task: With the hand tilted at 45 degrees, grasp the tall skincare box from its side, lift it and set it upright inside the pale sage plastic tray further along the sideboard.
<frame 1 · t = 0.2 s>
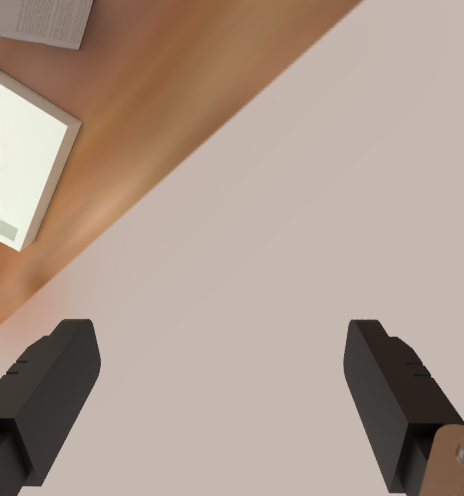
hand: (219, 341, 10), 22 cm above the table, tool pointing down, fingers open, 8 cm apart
skincare box: (54, 0, 25), on the table
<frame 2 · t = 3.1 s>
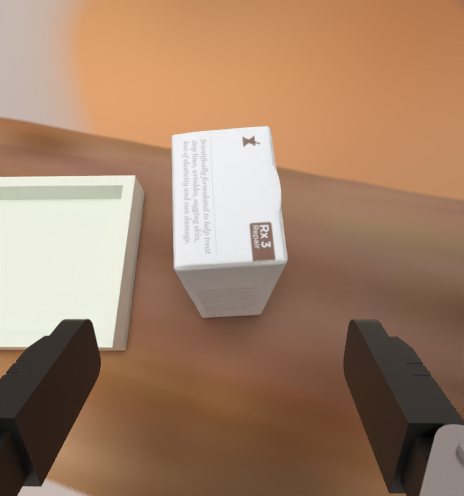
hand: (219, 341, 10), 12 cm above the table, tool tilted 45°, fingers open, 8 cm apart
skincare box: (232, 278, 24), on the table
tray: (42, 265, 24), on the table
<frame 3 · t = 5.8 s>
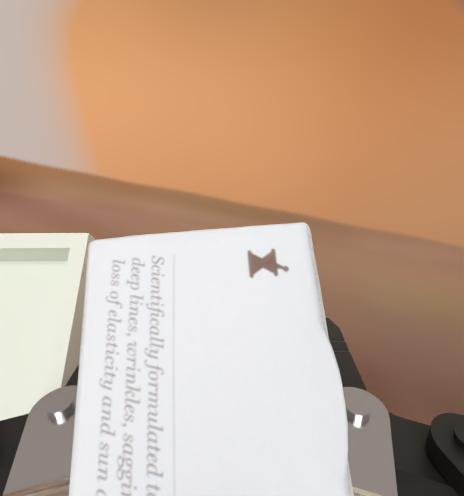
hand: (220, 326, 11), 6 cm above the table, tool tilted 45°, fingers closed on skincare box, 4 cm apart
skincare box: (228, 384, 16), on the table, touching gripper
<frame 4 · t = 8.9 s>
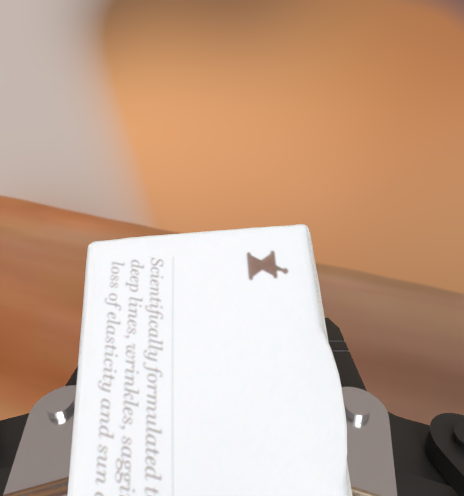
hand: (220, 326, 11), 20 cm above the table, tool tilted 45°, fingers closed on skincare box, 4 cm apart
skincare box: (228, 384, 16), point 14 cm above the table, touching gripper
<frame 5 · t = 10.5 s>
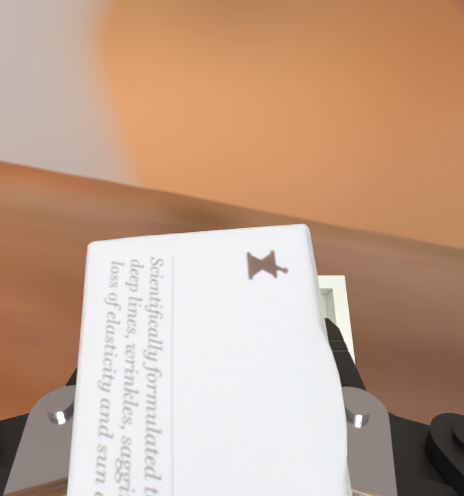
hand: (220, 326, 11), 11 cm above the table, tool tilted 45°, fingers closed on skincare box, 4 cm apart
skincare box: (228, 384, 16), point 5 cm above the table, touching gripper
tray: (232, 378, 21), on the table
when the fingers open (8 cm above the table, at t = 12.0 s): skincare box drops 1 cm, resting on tray.
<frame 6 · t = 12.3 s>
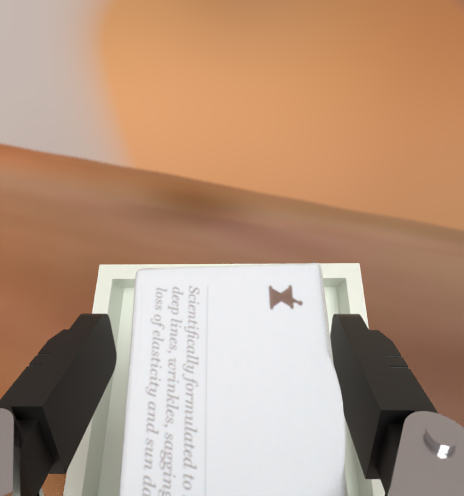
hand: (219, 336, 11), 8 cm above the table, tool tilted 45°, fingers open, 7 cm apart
skincare box: (235, 388, 17), resting on tray
tray: (229, 383, 18), on the table
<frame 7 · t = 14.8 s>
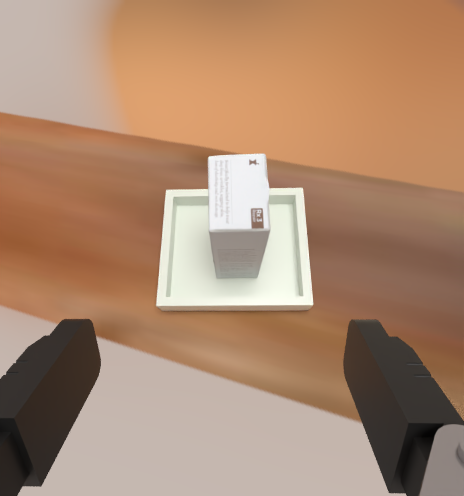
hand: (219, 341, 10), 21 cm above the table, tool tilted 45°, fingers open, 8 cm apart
skincare box: (238, 252, 34), resting on tray
tray: (234, 252, 34), on the table
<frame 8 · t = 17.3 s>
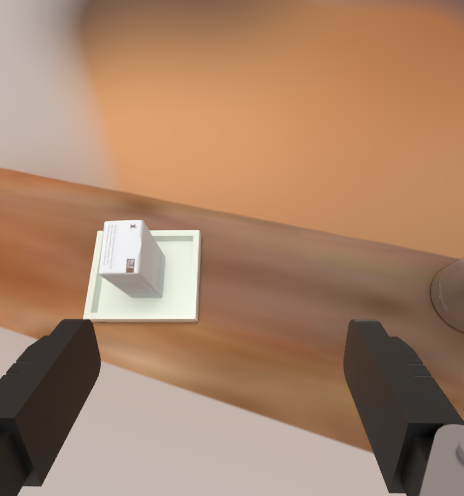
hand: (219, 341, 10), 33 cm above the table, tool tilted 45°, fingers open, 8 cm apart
skincare box: (150, 278, 45), resting on tray
tray: (148, 277, 45), on the table
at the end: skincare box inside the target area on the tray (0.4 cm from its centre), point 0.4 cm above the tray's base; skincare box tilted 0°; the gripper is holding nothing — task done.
